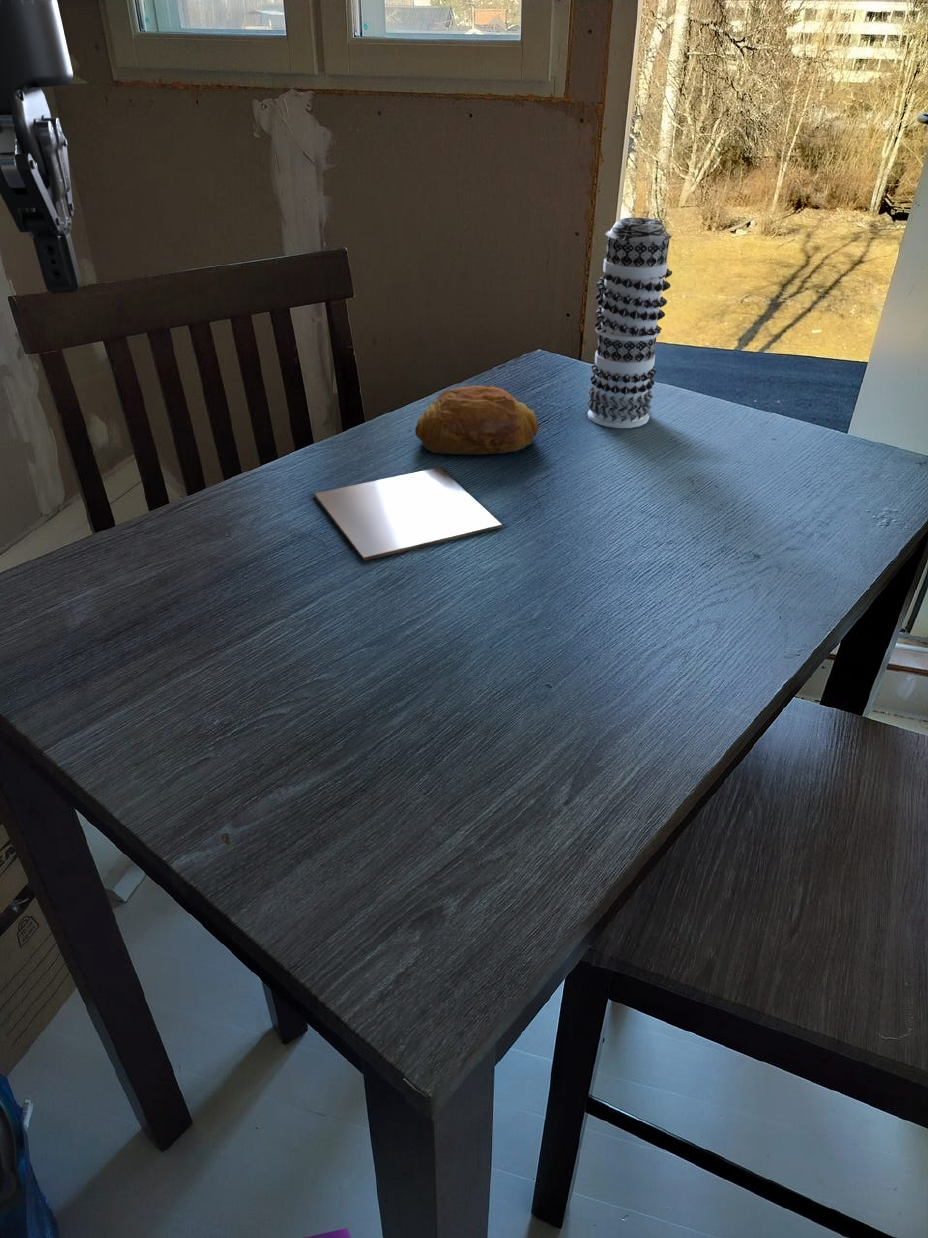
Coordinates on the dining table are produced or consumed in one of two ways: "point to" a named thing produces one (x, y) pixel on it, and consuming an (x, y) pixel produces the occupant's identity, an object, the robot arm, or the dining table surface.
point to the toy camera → (333, 1234)
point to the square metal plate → (405, 513)
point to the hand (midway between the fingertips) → (65, 289)
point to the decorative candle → (628, 322)
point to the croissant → (476, 422)
